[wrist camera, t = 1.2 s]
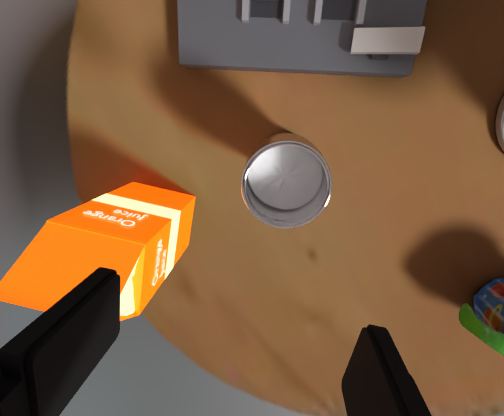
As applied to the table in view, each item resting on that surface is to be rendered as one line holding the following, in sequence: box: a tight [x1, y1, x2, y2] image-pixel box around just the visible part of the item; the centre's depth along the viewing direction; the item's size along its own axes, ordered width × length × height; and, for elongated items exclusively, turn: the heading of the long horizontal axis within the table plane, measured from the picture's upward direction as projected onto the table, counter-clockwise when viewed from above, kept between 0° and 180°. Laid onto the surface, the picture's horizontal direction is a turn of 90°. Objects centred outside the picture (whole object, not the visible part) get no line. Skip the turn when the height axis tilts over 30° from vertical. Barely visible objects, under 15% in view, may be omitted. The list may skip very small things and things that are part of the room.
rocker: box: [350, 27, 425, 54], centre depth 26 cm, size 6×2×1 cm, turn 87°
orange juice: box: [0, 182, 196, 321], centre depth 29 cm, size 8×9×20 cm
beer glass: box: [241, 132, 332, 228], centre depth 27 cm, size 7×7×15 cm
